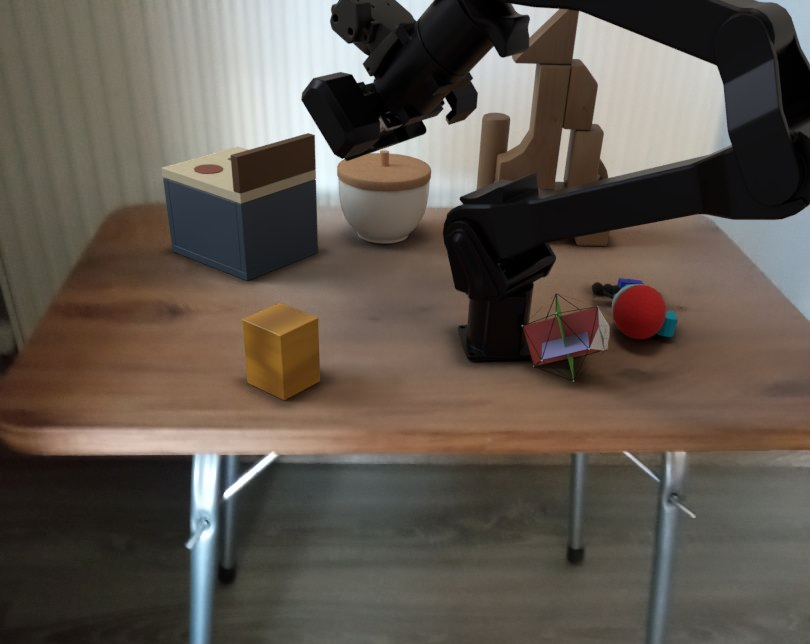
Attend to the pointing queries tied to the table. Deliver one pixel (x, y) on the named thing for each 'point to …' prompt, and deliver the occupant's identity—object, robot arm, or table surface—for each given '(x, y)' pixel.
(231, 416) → the table surface
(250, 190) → the lid
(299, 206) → the box
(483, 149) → the wooden toy
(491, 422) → the table surface
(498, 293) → the robot arm
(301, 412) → the table surface
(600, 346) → the geometric puzzle
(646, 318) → the toy figure
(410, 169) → the trinket box
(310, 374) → the block
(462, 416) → the table surface
